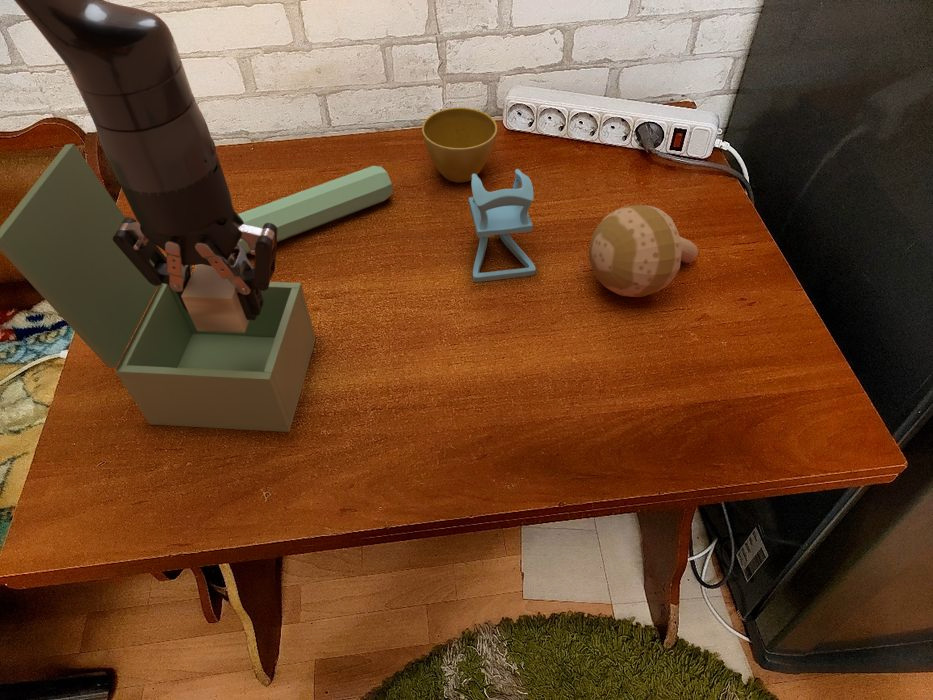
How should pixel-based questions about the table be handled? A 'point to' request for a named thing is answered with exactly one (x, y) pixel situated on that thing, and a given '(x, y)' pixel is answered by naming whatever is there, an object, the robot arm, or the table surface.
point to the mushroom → (638, 250)
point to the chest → (220, 364)
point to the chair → (502, 223)
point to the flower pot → (459, 141)
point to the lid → (78, 255)
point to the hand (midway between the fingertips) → (227, 311)
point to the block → (213, 302)
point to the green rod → (321, 203)
